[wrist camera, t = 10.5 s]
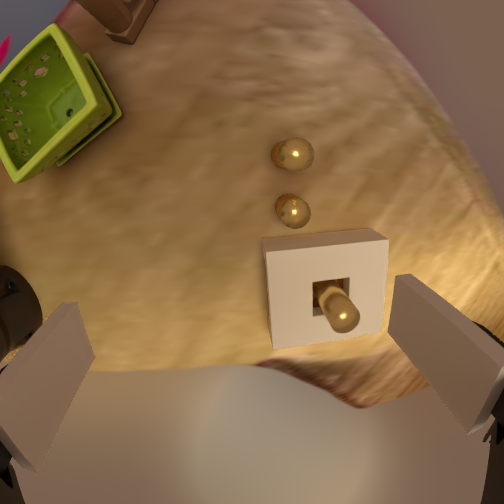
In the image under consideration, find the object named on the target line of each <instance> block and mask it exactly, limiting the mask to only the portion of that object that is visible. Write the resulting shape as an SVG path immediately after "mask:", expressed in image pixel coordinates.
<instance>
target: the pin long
mask: <svg viewBox="0 0 504 504" xmlns="http://www.w3.org/2000/svg"><path fill="white" fill-rule="evenodd" d="M312 290H313V294H314V296H315V298H316V300H317V302H318V303H319V305H320V307H321V309H322V311H323V313H324V314H325V316H326V318H327V320H328V322H329V324H330V325H331V327H332V329H333V330H334V331H335V332H337V333H348V332H350V331H352V330H353V329H354V328H355V327H356V326H357V325H358V323H359V321H360V312H359V311H358V309H357V308H356V307H355V305H354V304H353V303H352V301H351V300H350V299H349V297H348V296H347V295H346V293H345V292H344V291H343V289H342V288H341V287H340V286H339V284H338V283H337V282H336V280H335V279H332V280H324V281H316V282H312Z"/></svg>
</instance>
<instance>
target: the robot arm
mask: <svg viewBox="0 0 504 504" xmlns="http://www.w3.org/2000/svg"><path fill="white" fill-rule="evenodd" d="M388 333H389V334H390V336H391V337H392V338H393V339H394V341H395V342H396V343H397V344H398V345H399V347H400V348H401V349H402V350H403V352H404V353H405V354H406V355H407V357H408V358H409V359H410V360H411V362H412V363H413V364H414V365H415V367H416V368H417V369H418V370H419V372H420V373H421V374H422V375H423V377H424V378H425V379H426V381H427V382H428V383H429V384H430V386H431V387H432V388H433V389H434V391H435V392H436V393H437V395H438V396H439V397H440V399H441V400H442V401H443V403H444V404H445V405H446V407H447V408H448V409H449V411H450V412H451V413H452V415H453V416H454V417H455V419H456V420H457V421H458V423H459V424H460V425H461V427H462V428H463V429H464V431H465V432H466V434H467V435H468V434H470V433H472V432H474V431H476V430H477V429H479V428H481V427H483V426H484V425H485V423H486V421H487V419H488V418H489V416H490V414H492V415H493V416H494V417H495V418H496V419H495V420H494V422H493V424H492V425H491V427H490V429H489V430H488V432H487V433H486V435H485V437H484V439H483V442H486V440H487V439H488V437H489V436H490V435H491V440H490V441H489V443H490V452H489V460H488V467H487V474H486V480H485V485H484V491H483V496H482V500H481V504H504V343H503V342H502V341H500V339H499V338H497V337H496V336H495V335H493V333H491V332H490V331H489V330H488V329H487V328H485V327H484V326H482V325H480V324H478V323H476V322H474V321H471V320H470V319H469V318H467V317H466V316H465V315H464V314H462V313H461V312H460V311H459V310H457V309H456V308H455V307H454V306H452V305H451V304H450V303H448V302H447V301H446V300H445V299H443V298H442V297H441V296H439V295H438V294H437V293H436V292H434V291H433V290H432V289H430V288H429V287H428V286H426V285H425V284H424V283H422V282H421V281H420V280H418V279H417V278H416V277H414V276H413V275H412V274H404V275H397V276H395V285H394V293H393V300H392V307H391V314H390V320H389V326H388ZM22 346H23V347H22ZM20 347H22V348H21V350H20V351H19V352H18V353H17V354H16V356H15V357H14V358H13V359H12V360H11V362H10V363H9V364H7V365H6V366H5V367H3V368H2V369H1V370H0V504H25V502H24V499H23V496H22V493H21V490H20V487H19V484H18V481H17V477H16V474H15V471H14V469H13V466H12V465H11V464H10V463H9V462H10V460H11V458H12V457H13V458H14V459H15V460H16V461H17V463H18V464H19V465H20V466H21V467H22V468H25V469H28V470H31V471H34V472H37V473H39V471H40V469H41V467H42V464H43V462H44V459H45V457H46V455H47V453H48V450H49V448H50V446H51V444H52V441H53V439H54V437H55V435H56V433H57V431H58V429H59V426H60V424H61V422H62V420H63V418H64V416H65V414H66V412H67V410H68V408H69V406H70V404H71V402H72V400H73V398H74V396H75V394H76V392H77V390H78V388H79V386H80V384H81V382H82V380H83V379H84V377H85V374H86V373H87V371H88V369H89V367H90V365H91V364H92V362H93V360H94V358H95V356H94V353H93V350H92V347H91V345H90V342H89V339H88V336H87V333H86V330H85V327H84V324H83V321H82V318H81V315H80V311H79V308H78V305H77V302H74V303H62V304H61V305H60V306H59V307H58V308H57V309H56V310H55V311H54V312H53V313H52V314H51V316H50V317H49V318H48V319H47V320H46V321H45V322H44V323H43V324H42V314H41V309H40V305H39V302H38V300H37V297H36V295H35V293H34V292H33V290H32V288H31V287H30V285H29V284H28V283H27V281H26V280H25V279H24V278H23V277H22V276H21V275H20V274H19V273H18V272H16V271H15V270H13V269H11V268H9V267H6V266H0V362H1V361H2V360H3V358H4V357H5V356H6V355H7V354H8V353H9V352H10V351H13V350H15V349H17V348H20Z"/></svg>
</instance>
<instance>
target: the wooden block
mask: <svg viewBox="0 0 504 504" xmlns="http://www.w3.org/2000/svg"><path fill="white" fill-rule="evenodd" d="M75 1H77V2H78V3H79V4H80V5H81V6H82V7H83V8H85V9H86V10H87V11H88V12H89V13H90V14H91V15H92V16H94V17H95V18H96V19H97V20H98V21H99V22H100V23H101V24H102V25H104V26H105V27H106V28H107V29H106V31H105V34H106V35H107V36H109V37H110V38H111V39H112V40H113V41H118V42H123V43H128V44H133V43H134V41H135V39H136V38H137V36H138V34H139V32H140V30H141V28H142V26H143V25H144V23H145V21H146V19H147V17H148V16H149V14H150V12H151V11H152V9H153V7H154V5H155V4H154V3H156V2H157V1H158V0H75Z"/></svg>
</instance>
